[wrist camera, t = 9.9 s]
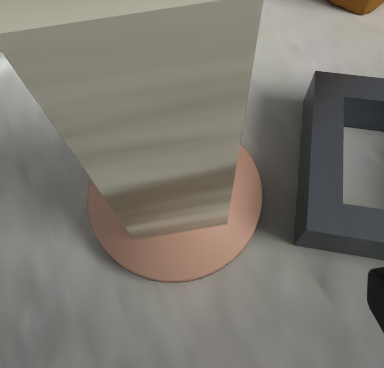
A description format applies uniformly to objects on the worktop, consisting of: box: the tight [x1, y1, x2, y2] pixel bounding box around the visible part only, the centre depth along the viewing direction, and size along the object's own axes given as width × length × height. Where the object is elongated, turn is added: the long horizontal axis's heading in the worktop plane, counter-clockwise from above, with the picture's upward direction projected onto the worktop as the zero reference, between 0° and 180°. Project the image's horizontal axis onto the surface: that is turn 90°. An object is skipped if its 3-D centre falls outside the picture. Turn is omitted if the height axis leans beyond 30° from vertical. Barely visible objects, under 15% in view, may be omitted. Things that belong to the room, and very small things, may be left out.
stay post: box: [0, 0, 263, 240], centre depth 12 cm, size 5×5×12 cm
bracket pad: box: [88, 143, 262, 283], centre depth 19 cm, size 9×9×1 cm
